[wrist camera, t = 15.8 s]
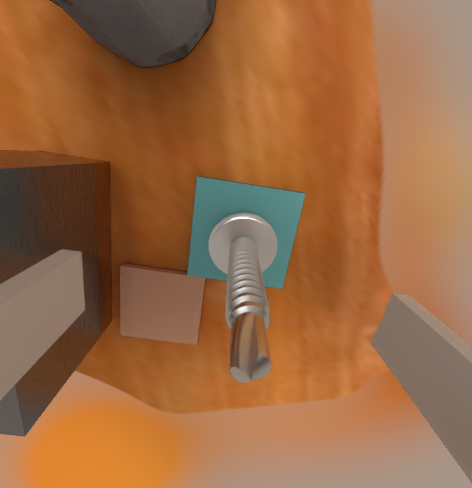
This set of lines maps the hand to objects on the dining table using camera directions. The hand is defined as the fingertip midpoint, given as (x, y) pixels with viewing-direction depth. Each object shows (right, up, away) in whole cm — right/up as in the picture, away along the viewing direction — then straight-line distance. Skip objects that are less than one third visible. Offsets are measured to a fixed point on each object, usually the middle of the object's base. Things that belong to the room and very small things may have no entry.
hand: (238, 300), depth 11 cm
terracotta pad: (-7, -3, +12) cm, 14 cm away
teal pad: (0, +3, +9) cm, 10 cm away
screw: (0, +3, +9) cm, 10 cm away
